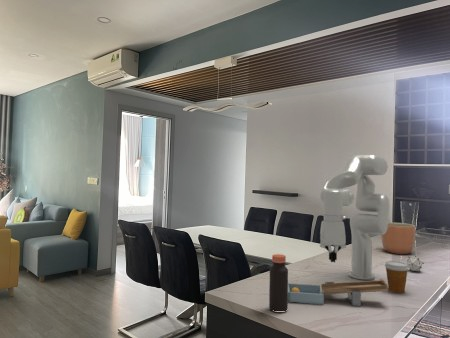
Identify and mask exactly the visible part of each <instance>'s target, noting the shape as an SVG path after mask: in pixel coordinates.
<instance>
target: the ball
mask: <svg viewBox="0 0 450 338" xmlns="http://www.w3.org/2000/svg"><path fill="white" fill-rule="evenodd" d="M291 292H299V293H300V291H299V289H298V288H296V287H294V288H292V289H291Z"/></svg>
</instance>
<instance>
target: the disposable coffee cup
mask: <svg viewBox="0 0 450 338" xmlns="http://www.w3.org/2000/svg"><path fill="white" fill-rule="evenodd" d="M384 267H385V272H386V280H387V286H388V292H389V291H390V292H391V293H395V294H403V293H405V289H406V282H407V277H408V270H410V268H409V267H408V265H407V262H401V261H396V260H394V261H393V260H392V261H391V260H390V261H385V264H384Z"/></svg>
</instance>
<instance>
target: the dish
mask: <svg viewBox="0 0 450 338" xmlns="http://www.w3.org/2000/svg"><path fill="white" fill-rule="evenodd" d="M294 287H296V288H298V289H299V291H300V293H299V292H291V289H292V288H294ZM324 295H325V294H324V293H322V291H321V285H319V284H303V283H289V282H288V302H299V303H298V304H302V303H310V304H309V305H317V304H322V305H321V306H324V303H325V297H324Z"/></svg>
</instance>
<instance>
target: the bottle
mask: <svg viewBox="0 0 450 338" xmlns="http://www.w3.org/2000/svg"><path fill="white" fill-rule="evenodd" d="M271 258H272V261H271V262H272V266H271V267H269V285H268V286H269V297H268V300H269V301H268V307H269V308H270V309H271V310H274V311H286V310H287V309H288V306H289V303H288V283H289V270H288V268H287V266H285V265H286V261H287V259H286V255H284V254H279V253H277V254H273V255H272V257H271ZM270 309H269V310H270ZM271 310H270V311H271ZM288 310H289V309H288ZM288 310H287V311H288ZM287 311H286V312H287Z"/></svg>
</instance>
